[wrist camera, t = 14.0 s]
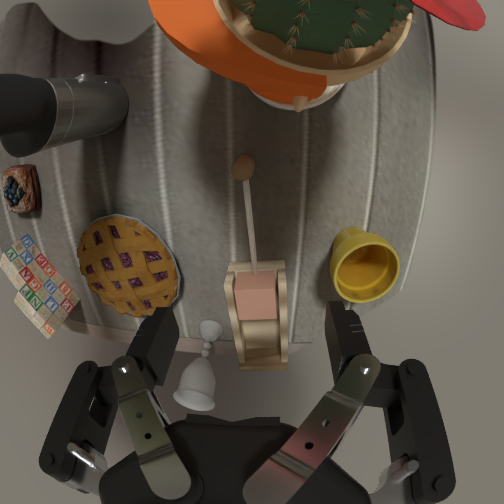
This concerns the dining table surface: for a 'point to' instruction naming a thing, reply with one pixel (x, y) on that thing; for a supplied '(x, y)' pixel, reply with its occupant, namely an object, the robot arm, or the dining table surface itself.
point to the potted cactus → (299, 40)
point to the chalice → (200, 374)
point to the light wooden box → (260, 322)
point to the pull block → (252, 260)
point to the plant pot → (362, 265)
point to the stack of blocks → (38, 286)
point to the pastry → (22, 188)
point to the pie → (128, 265)
